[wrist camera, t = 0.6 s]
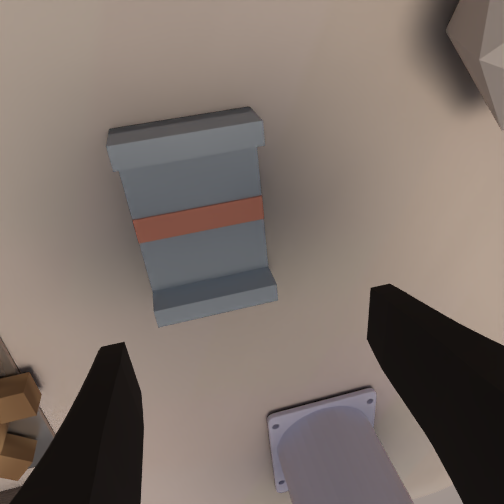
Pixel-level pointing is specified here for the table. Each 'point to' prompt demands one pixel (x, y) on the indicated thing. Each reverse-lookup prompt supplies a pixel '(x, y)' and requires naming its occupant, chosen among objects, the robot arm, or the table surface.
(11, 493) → the dark grey block
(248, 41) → the table surface
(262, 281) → the seat
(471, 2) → the grey faceted polyhedron
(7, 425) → the sprocket
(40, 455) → the thin square base plate
